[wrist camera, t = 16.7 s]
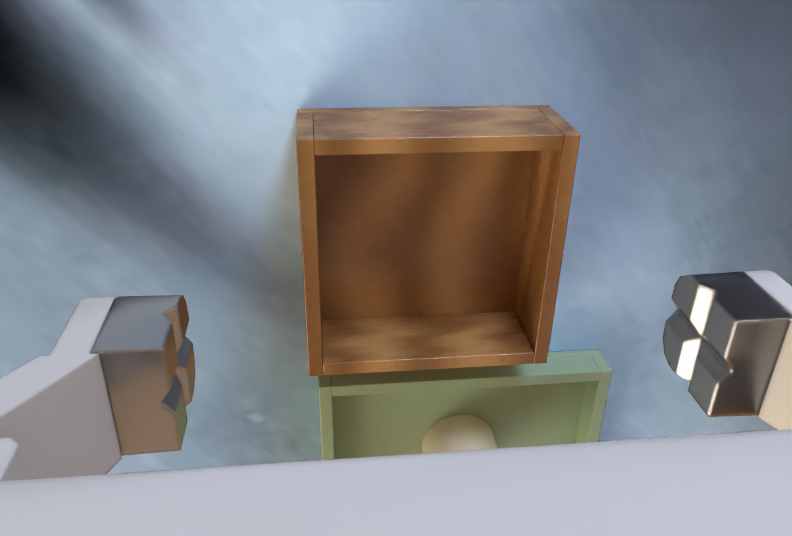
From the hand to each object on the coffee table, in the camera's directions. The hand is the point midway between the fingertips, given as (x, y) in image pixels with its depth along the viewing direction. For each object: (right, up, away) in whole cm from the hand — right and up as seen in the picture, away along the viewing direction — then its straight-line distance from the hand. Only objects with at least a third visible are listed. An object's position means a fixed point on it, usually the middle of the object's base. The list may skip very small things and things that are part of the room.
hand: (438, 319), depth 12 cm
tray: (+4, -11, +38) cm, 39 cm away
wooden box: (+1, +3, +29) cm, 29 cm away
